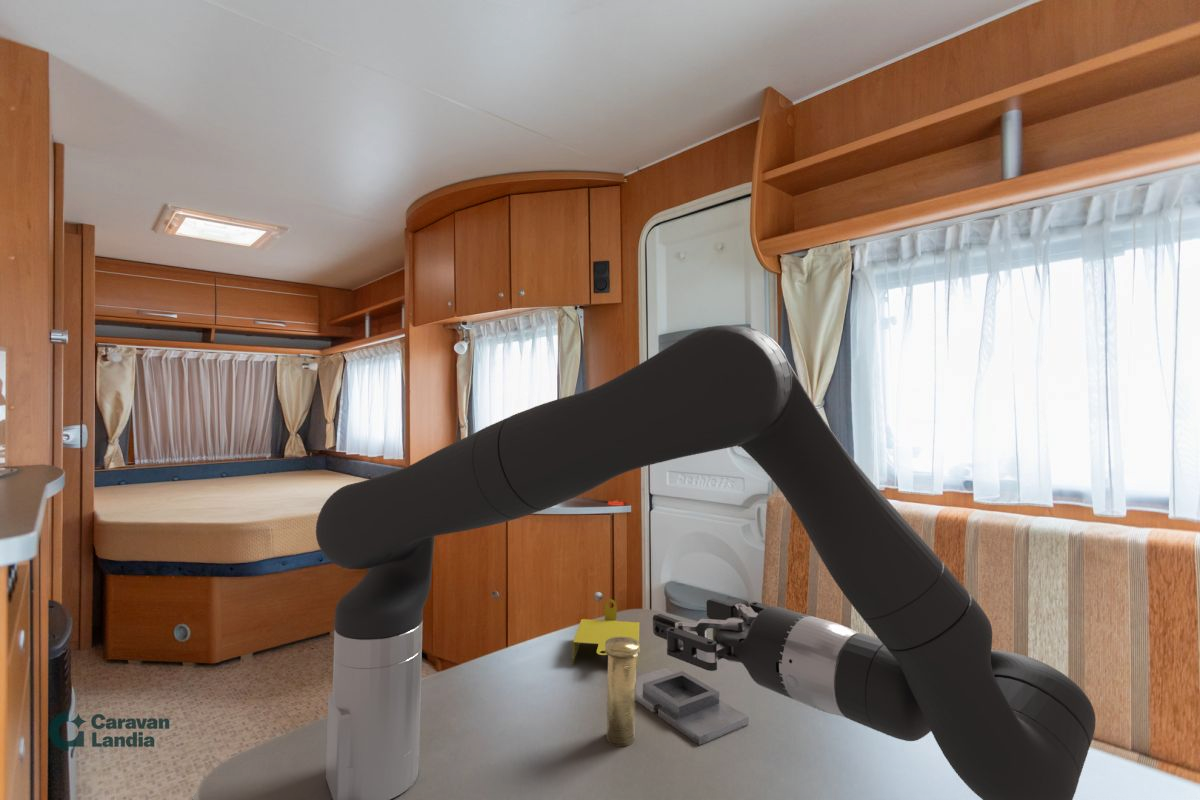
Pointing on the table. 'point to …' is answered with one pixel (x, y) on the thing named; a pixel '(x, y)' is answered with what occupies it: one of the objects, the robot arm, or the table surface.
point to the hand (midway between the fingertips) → (682, 615)
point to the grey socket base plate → (688, 705)
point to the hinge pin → (621, 689)
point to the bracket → (604, 630)
